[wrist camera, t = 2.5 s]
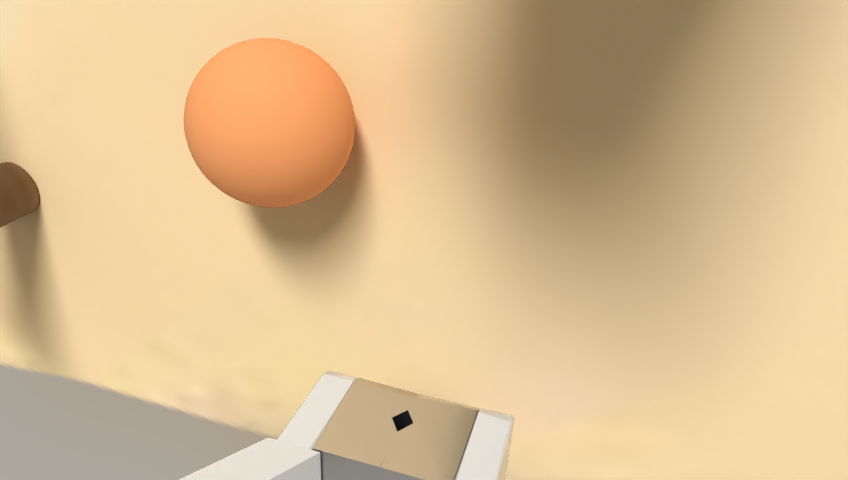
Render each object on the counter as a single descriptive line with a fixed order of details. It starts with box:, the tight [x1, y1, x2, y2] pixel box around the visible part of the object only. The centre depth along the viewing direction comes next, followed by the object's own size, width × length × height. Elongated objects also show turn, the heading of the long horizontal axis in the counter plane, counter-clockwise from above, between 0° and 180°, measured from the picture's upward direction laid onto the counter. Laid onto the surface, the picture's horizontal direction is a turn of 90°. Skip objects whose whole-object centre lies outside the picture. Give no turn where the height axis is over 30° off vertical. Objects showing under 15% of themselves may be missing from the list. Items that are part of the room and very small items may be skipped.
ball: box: [184, 38, 355, 207], centre depth 22 cm, size 6×6×6 cm
